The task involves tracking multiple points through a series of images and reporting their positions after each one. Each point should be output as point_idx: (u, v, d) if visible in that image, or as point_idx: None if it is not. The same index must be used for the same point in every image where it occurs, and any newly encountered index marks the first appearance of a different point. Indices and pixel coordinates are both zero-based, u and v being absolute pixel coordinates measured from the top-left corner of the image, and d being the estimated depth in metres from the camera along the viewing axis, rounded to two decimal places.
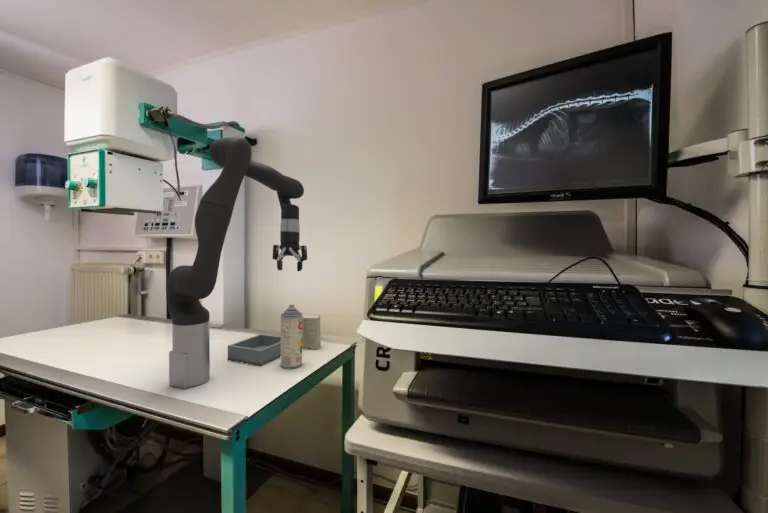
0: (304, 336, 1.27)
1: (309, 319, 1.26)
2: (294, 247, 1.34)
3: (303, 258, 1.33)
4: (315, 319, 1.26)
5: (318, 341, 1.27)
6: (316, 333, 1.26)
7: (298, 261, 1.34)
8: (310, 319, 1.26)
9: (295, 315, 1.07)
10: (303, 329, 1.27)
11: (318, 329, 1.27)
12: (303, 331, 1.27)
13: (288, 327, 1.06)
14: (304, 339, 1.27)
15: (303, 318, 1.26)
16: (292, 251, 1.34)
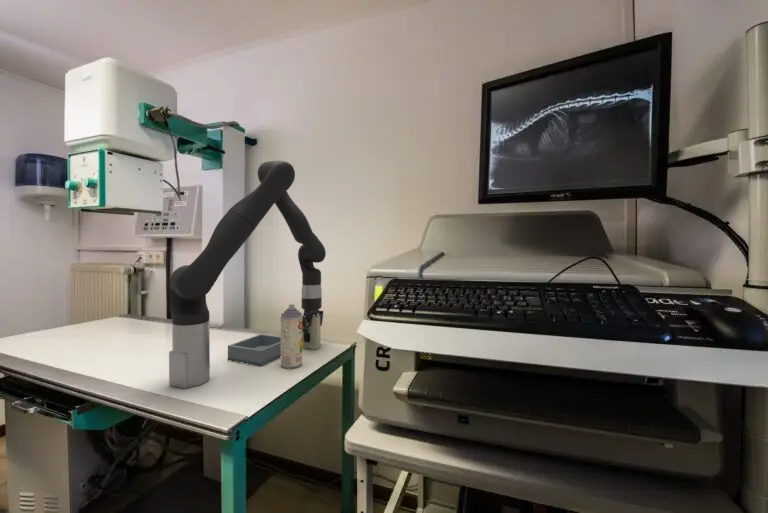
0: None
1: None
2: (317, 312, 1.30)
3: (321, 324, 1.33)
4: (315, 319, 1.26)
5: (318, 341, 1.27)
6: (316, 333, 1.26)
7: None
8: None
9: (295, 315, 1.07)
10: None
11: (318, 329, 1.27)
12: None
13: (288, 327, 1.06)
14: (303, 339, 1.27)
15: None
16: None
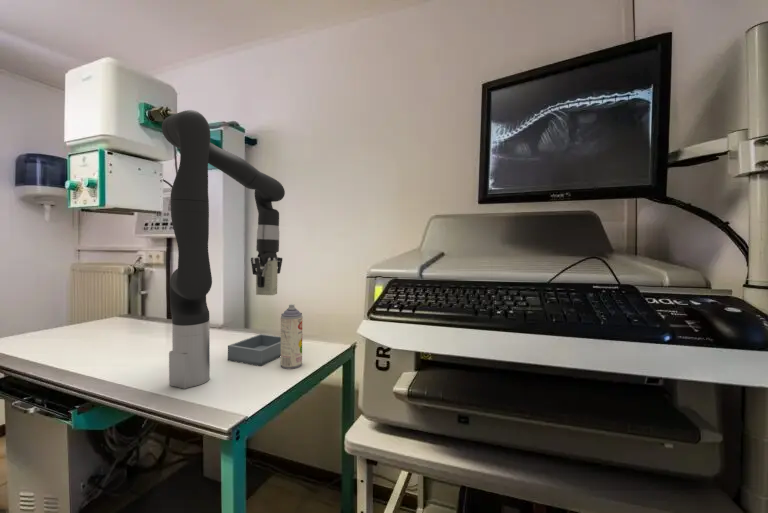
0: None
1: None
2: (275, 257, 1.20)
3: (279, 271, 1.23)
4: (270, 262, 1.16)
5: (273, 287, 1.17)
6: (271, 278, 1.16)
7: None
8: None
9: (295, 315, 1.07)
10: None
11: (274, 274, 1.17)
12: None
13: (288, 327, 1.06)
14: (257, 285, 1.17)
15: None
16: None
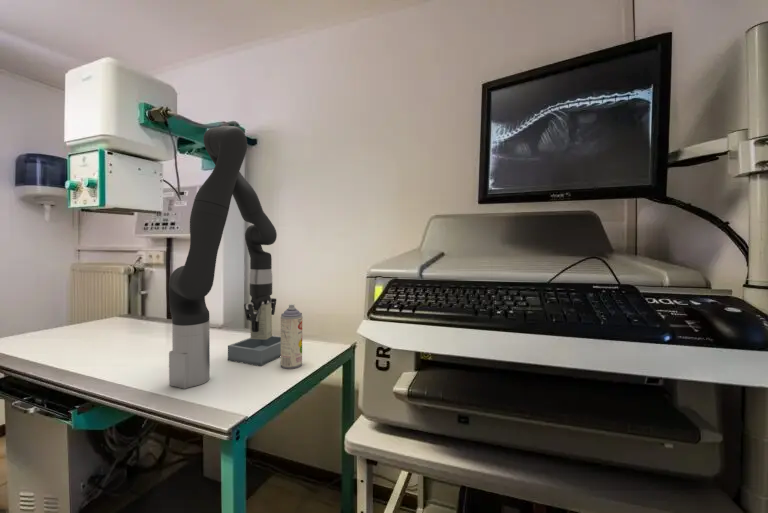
0: None
1: None
2: (268, 299, 1.20)
3: (273, 313, 1.22)
4: (264, 306, 1.15)
5: (268, 331, 1.17)
6: (265, 322, 1.16)
7: None
8: None
9: (295, 315, 1.07)
10: None
11: (268, 318, 1.17)
12: None
13: (288, 328, 1.06)
14: None
15: None
16: None
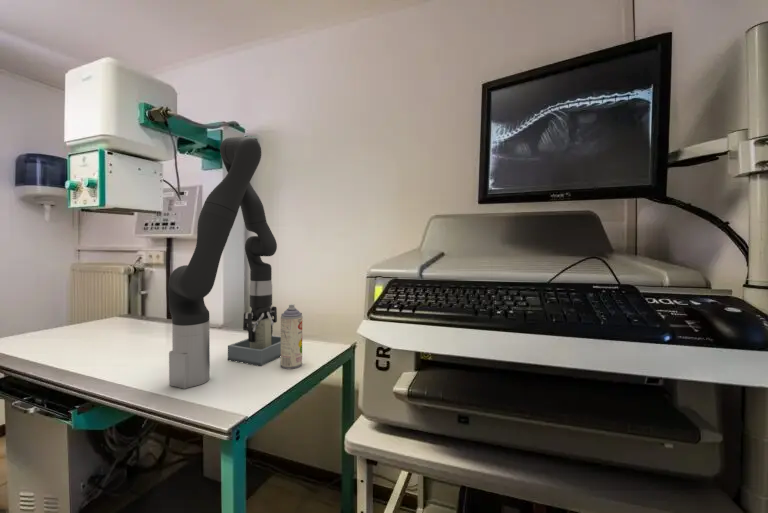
0: None
1: None
2: (268, 310, 1.20)
3: (276, 320, 1.24)
4: (263, 322, 1.15)
5: (267, 346, 1.17)
6: (264, 338, 1.16)
7: (272, 325, 1.22)
8: None
9: (295, 315, 1.07)
10: None
11: (267, 333, 1.17)
12: None
13: (288, 327, 1.06)
14: (251, 344, 1.16)
15: None
16: (269, 315, 1.19)
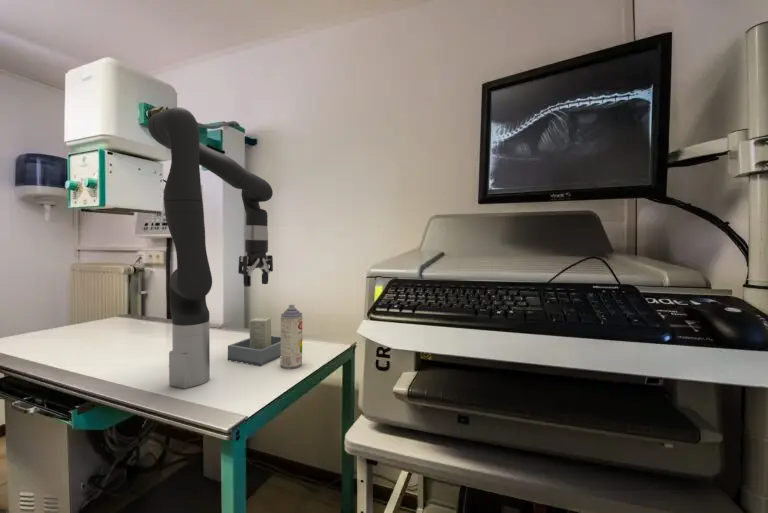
0: (251, 340, 1.16)
1: (257, 322, 1.16)
2: (264, 258, 1.20)
3: (272, 269, 1.23)
4: (263, 322, 1.15)
5: (267, 346, 1.17)
6: (264, 338, 1.16)
7: (268, 273, 1.21)
8: (258, 322, 1.16)
9: (295, 315, 1.07)
10: (250, 333, 1.16)
11: (267, 333, 1.17)
12: (251, 335, 1.16)
13: (288, 327, 1.06)
14: (251, 344, 1.16)
15: (250, 321, 1.16)
16: (264, 262, 1.19)
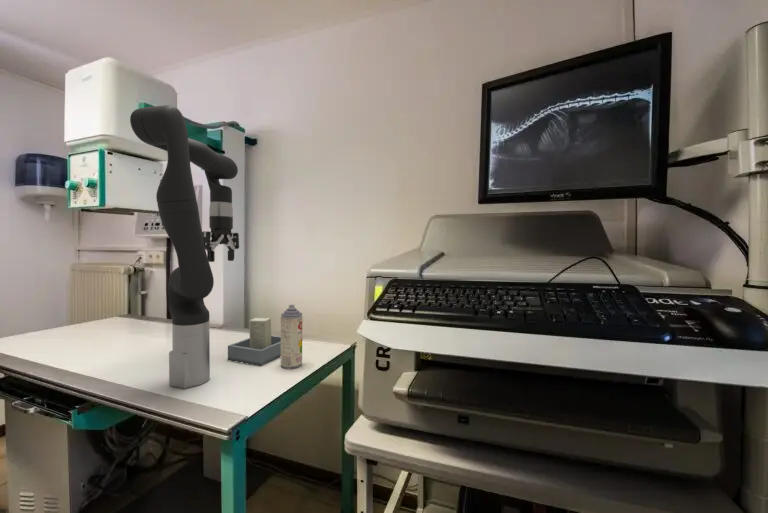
0: (251, 340, 1.16)
1: (257, 322, 1.16)
2: (229, 234, 1.21)
3: (238, 246, 1.25)
4: (263, 322, 1.15)
5: (267, 346, 1.17)
6: (264, 338, 1.16)
7: (233, 250, 1.23)
8: (258, 322, 1.16)
9: (295, 315, 1.07)
10: (250, 333, 1.16)
11: (267, 333, 1.17)
12: (250, 335, 1.16)
13: (288, 327, 1.06)
14: (251, 344, 1.16)
15: (250, 321, 1.16)
16: (229, 239, 1.21)
